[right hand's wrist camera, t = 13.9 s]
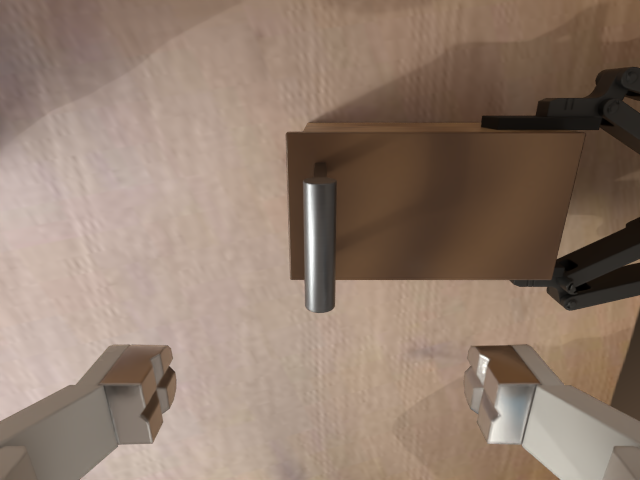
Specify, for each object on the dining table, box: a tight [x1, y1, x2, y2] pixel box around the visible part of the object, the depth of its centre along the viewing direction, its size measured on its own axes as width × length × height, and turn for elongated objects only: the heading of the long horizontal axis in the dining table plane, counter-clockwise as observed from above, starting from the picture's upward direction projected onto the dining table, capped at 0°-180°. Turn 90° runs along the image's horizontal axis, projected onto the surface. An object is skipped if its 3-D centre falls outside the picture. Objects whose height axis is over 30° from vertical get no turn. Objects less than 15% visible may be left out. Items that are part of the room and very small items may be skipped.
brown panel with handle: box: [286, 132, 586, 313], centre depth 21 cm, size 18×10×8 cm, turn 90°
